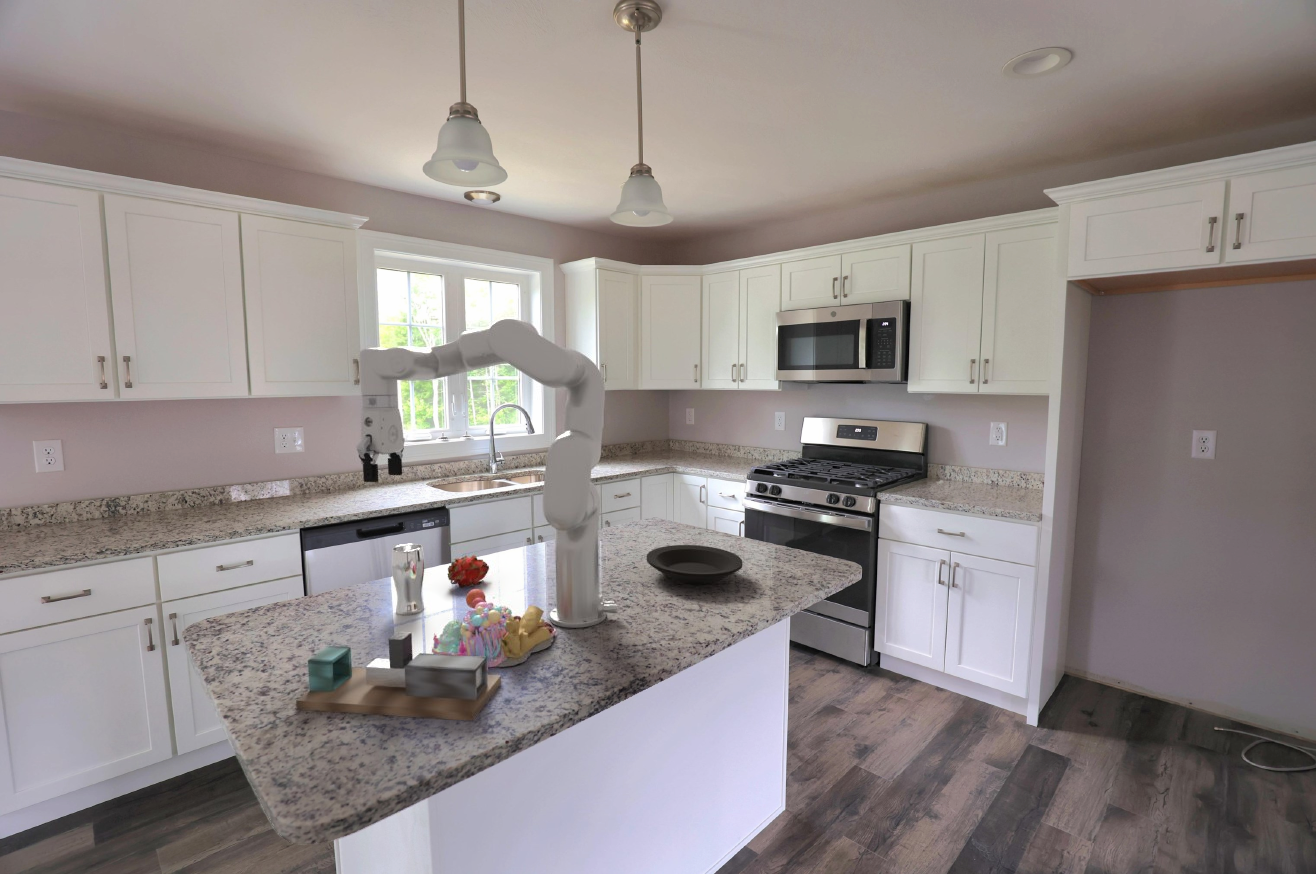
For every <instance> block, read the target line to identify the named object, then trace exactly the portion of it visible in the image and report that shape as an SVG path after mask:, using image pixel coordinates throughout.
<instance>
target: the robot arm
mask: <svg viewBox="0 0 1316 874" xmlns="http://www.w3.org/2000/svg"><path fill="white" fill-rule="evenodd" d="M358 358H359V374H360V375H359V376H360V377H359V378H360V393H361V394H360V395H361V399H360V400H361V410H362V414H361V425H360V426H361V430H360V437H361V439H360V442H358V444H357V445H356V451H357V454H358V458H359V459H360V463H361V465H362V473H363V474H362V476H363V482H364V483H377V482H379V466H378V463H376V462H377V460H378V458H379V455H388V458H387V471H388V472H387V473H388V475H389V476H402V475H403V462H402V461H403V460H402V459H403V457H404V456H403V452H404V449H405V448H404V447H405V441H406V440H405V437H404V431H403V422H402V416H401V412H400V408H399V395H398V394H399V392H398V390H399V389H398V381H403V382H409V381H410V382H411V381H431V380H432V381H433V380H436V379H441V378H445V377H450V376H454V375H455V376H456V375H459V374H463V373H467V372H469V373H470V372H473V371H476V370H481V369H484V368H485V369H486V368H490V367H495V366H499V365H504V364H508V365H510V366H512V367H513V368H515V369H516V370H518V371H520V372H521V373H523V374H524V375H526V376H527V377H529V378H531V379H532V380H533V381H535V382H537V383H538V384H541V385H543V386H544V387H547V388H552V389H560V388H561V389H563V388H564V389H565V391H566V396H567V397H566V401H565V405H564V411H563V412H564V413H563V425H562V433H561V435H559V436H557V437H556V438H555V439H554V440H553V441H552V443H551V444H550V445H549V448H548V450H547V454H546V460H545V470H544V482H543V491H542V492H543V493H542V513H543V516H544V518H545V520H546V522H547V523H548V524H549V525H550V526H551V528H553V529H555V533H554V534H555V535H554V537H555V539H554V540H555V541H554V542H555V543H554V544H555V550H554V552H555V592H556V594H555V598H556V603H555V604H556V607H554V608H553V609H552V610H551V611H550V613H549V621H550V622H551V623H552V624H553V625H555V626H558V627H562V628H567V629H570V628H571V629H581V628H588V627H592V626H595V625H598V624H600V623H601V622H603V621H604V620H605V619H606V617H607V614H608V613H609V614H618V613H619V604H616V601H610V600H609V601H605V599H603V597H604V596H603V593H601V594H600V575H599V574H600V572H599V571H600V569H599V568H600V566H599V565H600V564H599V555H600V554H599V553H600V552H599V549H600V548H599V544H600V543H599V530H600V527H599V526H600V512H601V499H600V493H599V491H598V489H597V487H596V486H595V484H594V483H593V482H592V481H591V479H592V470H593V469H594V468H595V467H596V466H598V464H599V462H600V459H601V456H602V438H603V428H604V411H605V401H606V400H605V399H606V398H605V396H606V394H605V393H606V391H605V390H606V389H605V381H604V377H603V376H602V373H601V371H600V369H599V368H598V366H597V364H596V363H594V361H592V360H591V358H589V357H588V356H586V355H584V354H583V353H581V352H580V351H579V350H578V351H577V350H576V349H571V348H568V347H561V346H558V345H557V344H556V343H554V342H552V341H550V340H549V339H547V338H545V337H544V336H542V335H540V334H539V331H538V329H537V328H536V327H535V326H534V325H533V324H532V323H530V322H528V321H526V320H523V319H519V318H515V317H503V318H499V319H497V320H496V321H494V322H493V323H492V324H491V325H490V326H486V327H481V328H475V329H472V330H467V331H463V332H462V333H461V334H460V335H459V337H458V339H456V340H454V341H451V342H448V343H444V344H439V345H434V346H429V347H421V346H420V347H419V346H406V345H405V346H404V345H402V346H396V347H395V346H394V347H390V348H389V347H388V348H387V347H368V348H367V347H365V348H363V349H361V350H360V351H359V357H358Z"/></svg>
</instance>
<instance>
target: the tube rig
mask: <svg viewBox="0 0 1316 874" xmlns="http://www.w3.org/2000/svg"><path fill="white" fill-rule="evenodd" d="M481 666H482V683H481V685H480V686H479V687H478V688H477V686H476V672H477V671H478V669H479V668H480V667H481ZM307 667H308V668H307V669H308V684H309V685H308V686H309V690H308V691H307V692H306V693H305V694H303V695H302V696H300V697H299V698H297V699H296V700H295V701H296V703H295V704H296V710H300V709H304V711H315V710H320V712H331V713H332V712H333V713H334V712H336V713H349V714H350V713H351V714H362V715H363V714H365V715H379V716H393V717H394V716H395V717H408V718H409V717H411V718H426V719H439V720H440V719H441V720H454V721H455V720H456V721H472V722H473V721H474V720H475V718H476V717H477V715H478V714H479V713H480V712H481V710H482V709H483V708H484V707H485V706H486V704H487V703H488V702H489V700H490V699H491V697H493V695H494V693H495V692H496V691H497V689H498V688H499V687H500V686H501V684H502V675H500V674H488V671H487V657H483V656H464V655H445V654H436V653H425V652H424V653H421V652H419V653H418V654H417V655H416V656H415V657H414V658H413V660H412V661H410V662H409V663H408V664H407V665H406V666H405V686H406V688H405V687H388V686H371V685H366V668H365V667H359V666H358V667H356V666H355V667H353V666H352V648H351V646H335V645H334V646H333V645H329V646H327V647H326V648H324V649H323V650H321V651H319V652H318V653H317V654H315V655H313V656H312V657H311V658H310V659H308V660H307Z"/></svg>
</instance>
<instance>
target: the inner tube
mask: <svg viewBox="0 0 1316 874" xmlns="http://www.w3.org/2000/svg"><path fill="white" fill-rule="evenodd" d="M412 635H413V634H412V631H411V632H410V631H397V632H396V633H395V634H393V635H392V636H391V637H389V638H388V654H389V655H388V657H389V658H379V657H378V658H374V660H372V661H370V662H369V663H368V664H367V665H366V666H365V667H364V668H366V685H371V686H388V687H405V688H406V686H405V666H406V665H407V664H408V663H409V662H410V661H412V660H413V659H414V658H413V639H412V638H413V636H412ZM481 683H482V666H481V667H480V668H479V669H478V671H477V672H476V686H477V688H478V687H479V686H480V685H481Z"/></svg>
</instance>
